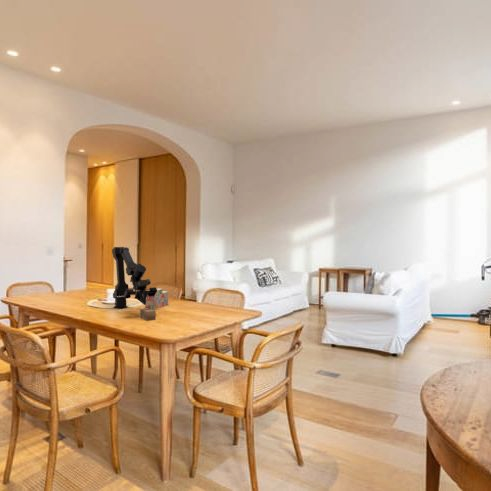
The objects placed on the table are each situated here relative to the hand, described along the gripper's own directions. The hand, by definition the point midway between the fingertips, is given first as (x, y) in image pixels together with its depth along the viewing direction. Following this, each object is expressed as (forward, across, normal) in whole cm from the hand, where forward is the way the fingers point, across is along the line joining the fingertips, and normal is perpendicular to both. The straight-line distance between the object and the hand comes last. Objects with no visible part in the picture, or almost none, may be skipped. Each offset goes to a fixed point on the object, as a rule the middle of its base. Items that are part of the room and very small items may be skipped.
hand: (145, 304), depth 224 cm
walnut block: (+3, 0, +5) cm, 5 cm away
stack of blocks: (-13, +20, +24) cm, 34 cm away
